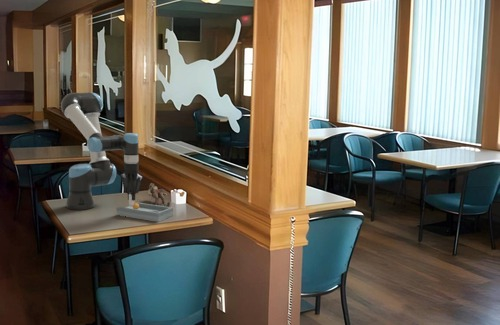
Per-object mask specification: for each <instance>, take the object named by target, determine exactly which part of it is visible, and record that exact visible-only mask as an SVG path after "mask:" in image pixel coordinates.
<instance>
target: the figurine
mask: <svg viewBox="0 0 500 325" xmlns="http://www.w3.org/2000/svg"><path fill="white" fill-rule="evenodd" d="M159 188H160V189H158V186H156V185H155V183H153V182H151V183H150V184H149V185H148V189H147V190H148V191H147V192H148V195H149V197H152V199H154V200H155V201H154V205H158V206H160V203H159V199H160V200H161V203H162V206H165V207H170V202H169V201H168V202H167V203H166V200H165V196H167V195H168V194H167V192H163V190H162V186H159Z"/></svg>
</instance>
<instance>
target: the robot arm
mask: <svg viewBox="0 0 500 325" xmlns="http://www.w3.org/2000/svg"><path fill="white" fill-rule="evenodd" d="M103 105H104V103H103V100H102V98H101V96H100V95H99V94H97V93H95V92H70V93H67V94H66V95H65V96H64V97H63V98H62V99H61V103H60V108H61V109H60V110H61V112H62V114H63V115H64V116H65V117H66V118H67V119H70V121H71V122H72V124H74V125H75V127H76V128H77V130H78V131H79V132H80V133H81V134H82V135H83V137H84V138H85V139H86V141H87V143H86V145H87V148H88V152H89V157H90V161H89V163H78V164H74V165H72V166H70V168H69V169H68V187H69V188H68V189H69V190H68V191H69V194H68V197H67V200H66V202H65V207H66V208H67V209H69V210H75V211H76V210H79V211H80V210H90V209H93V208H94V207H95V204H96V203H95V200H94V198H93V194H92V187H101V186H107V185H110V184H111V185H112V184H113V183H114V182H115V179H116V178H117V168H116V166H115V165H114V164H113V163H111V161H110V159H109V158H108V157H107V153H106V152H108V151H119V150H121V151H123V162H124V164H123V169H124V172H123V173H122V174H120V175H119V176H120V178H121V182H122V187H123V190H124V191H123V192H124V193H126V194H127V200H128V206H130V207H132V206H133V205H134V202H135V201H136V195H137V194H139V192H140V186H141V183H142V179H143V176H142V175H141V174H139V170H140V168H139V135H138V133H136V132H135V133H134V132H133V133H132V132H127V133H124V134H123V135H121V134H114V135H111V136H103V135H102V130H101V124H100V120H99V117H100V115H101V112H102V111H103Z"/></svg>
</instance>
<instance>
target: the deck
mask: <svg viewBox="0 0 500 325" xmlns="http://www.w3.org/2000/svg"><path fill="white" fill-rule="evenodd" d="M135 203H137V204H138V205H139V208H138V209H133V206H132V207H130V206H129V205H128V206H125V207H124V206H123V207H122V206H116V216H118V215H120V217H125V216H126V218H132V219H139V220H145V221H151V222H156V223H159V222H162V221H164V220H166V219H169V218H171V217H173V215H174V214H173V213H174V211H173V210H174V208H173V207H172V206H171V207H170V206H169V207H165V206H164V205H159V206H158V205H155V204H152V203H150V204H149V203H143V202H136V201H134V204H135Z"/></svg>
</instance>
